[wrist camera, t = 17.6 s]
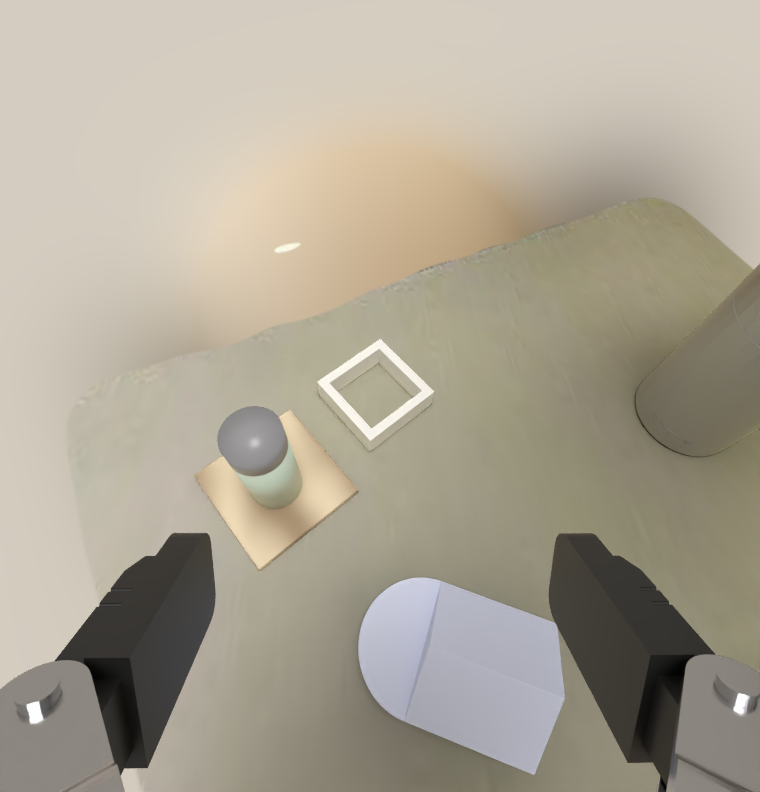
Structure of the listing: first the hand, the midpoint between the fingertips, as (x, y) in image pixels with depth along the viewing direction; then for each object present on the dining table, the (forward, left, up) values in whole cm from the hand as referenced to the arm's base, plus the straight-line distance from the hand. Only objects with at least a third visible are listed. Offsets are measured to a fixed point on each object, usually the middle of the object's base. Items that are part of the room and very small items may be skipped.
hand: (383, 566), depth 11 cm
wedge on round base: (-3, +5, -29) cm, 30 cm away
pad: (-1, -14, -29) cm, 32 cm away
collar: (-13, -15, -29) cm, 35 cm away
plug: (-1, -14, -28) cm, 31 cm away
